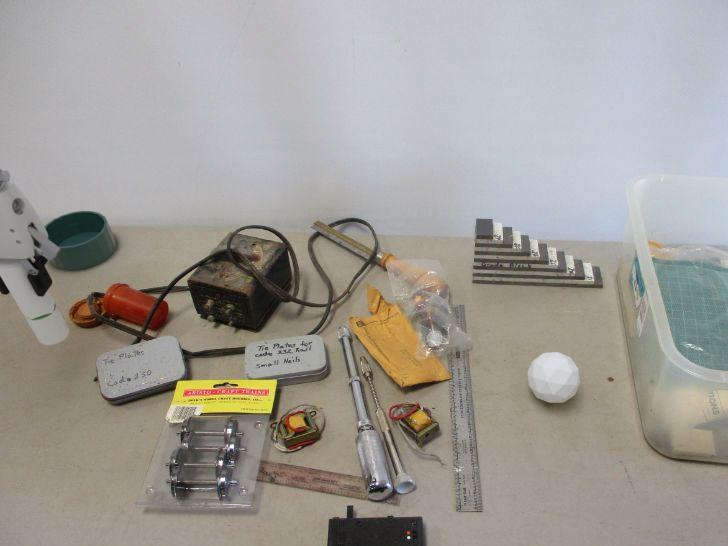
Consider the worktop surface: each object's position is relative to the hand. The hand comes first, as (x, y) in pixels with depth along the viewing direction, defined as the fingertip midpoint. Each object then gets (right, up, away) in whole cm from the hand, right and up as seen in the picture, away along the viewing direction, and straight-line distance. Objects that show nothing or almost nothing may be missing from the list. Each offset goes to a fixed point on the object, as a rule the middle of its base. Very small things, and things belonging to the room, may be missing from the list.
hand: (27, 287), depth 83 cm
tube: (0, -7, +7) cm, 10 cm away
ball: (+76, -16, +9) cm, 79 cm away
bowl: (-10, +8, +34) cm, 36 cm away
